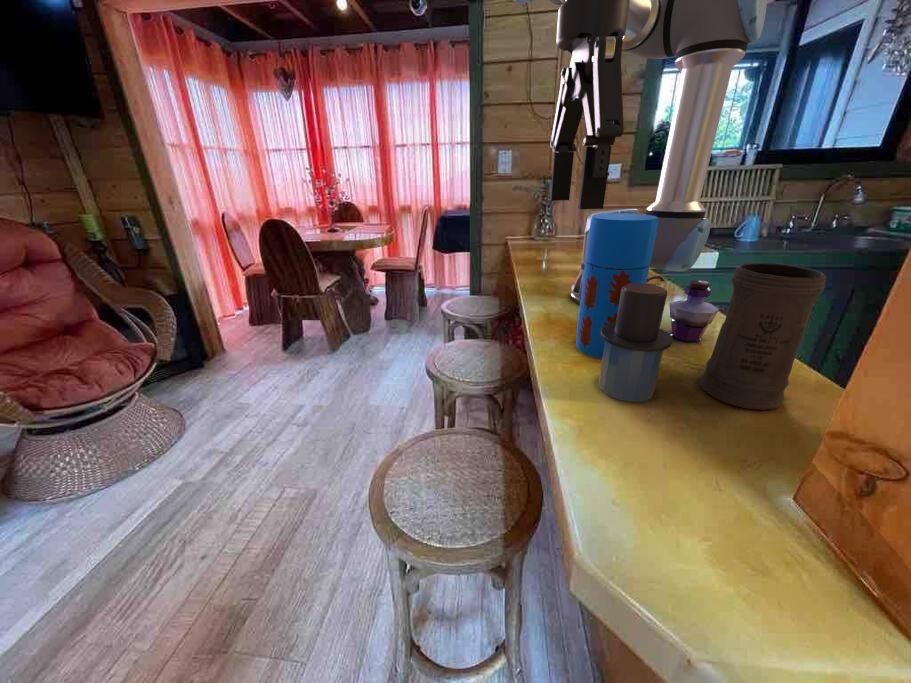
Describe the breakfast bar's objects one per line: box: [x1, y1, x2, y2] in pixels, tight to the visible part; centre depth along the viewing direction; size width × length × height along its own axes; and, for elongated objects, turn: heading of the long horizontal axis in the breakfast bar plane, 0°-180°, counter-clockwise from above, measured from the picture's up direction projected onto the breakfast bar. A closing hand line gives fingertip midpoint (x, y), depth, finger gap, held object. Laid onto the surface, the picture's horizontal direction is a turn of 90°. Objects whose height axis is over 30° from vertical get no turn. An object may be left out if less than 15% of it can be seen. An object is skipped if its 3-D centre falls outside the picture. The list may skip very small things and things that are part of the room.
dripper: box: [600, 283, 674, 352], centre depth 56 cm, size 10×10×10 cm
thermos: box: [575, 213, 658, 360], centre depth 69 cm, size 11×11×25 cm
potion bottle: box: [669, 279, 720, 343], centre depth 76 cm, size 9×9×12 cm
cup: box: [598, 341, 665, 403], centre depth 59 cm, size 8×8×9 cm
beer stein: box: [699, 262, 827, 411], centre depth 57 cm, size 15×11×20 cm
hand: (573, 204), depth 50 cm, fingers open, 13 cm apart
